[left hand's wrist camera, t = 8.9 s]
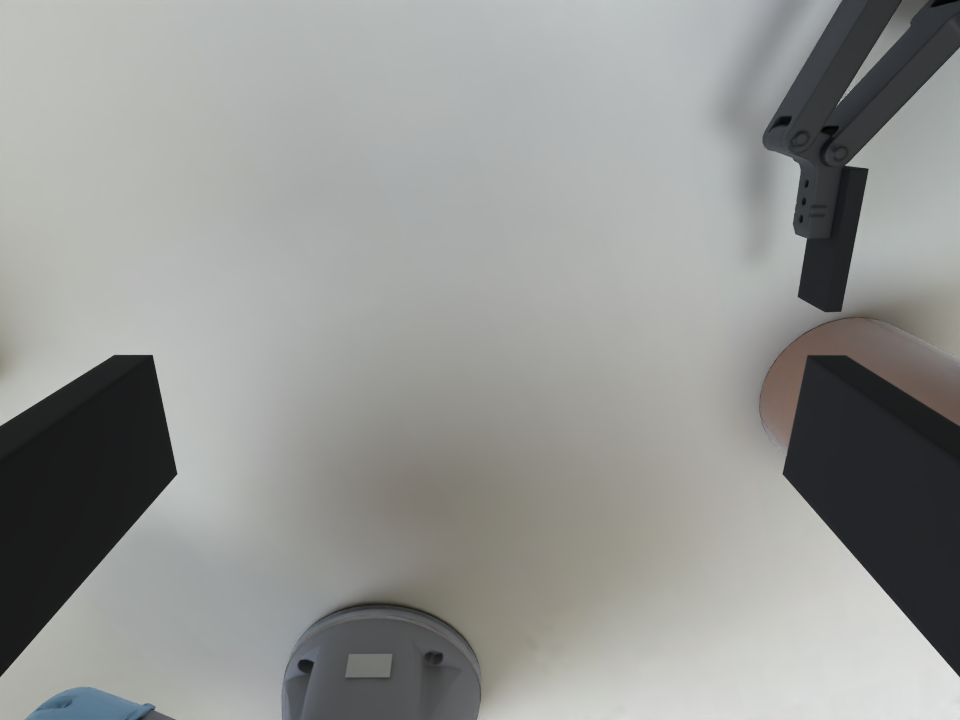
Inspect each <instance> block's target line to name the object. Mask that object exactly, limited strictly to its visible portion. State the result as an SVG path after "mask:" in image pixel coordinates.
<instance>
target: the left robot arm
mask: <svg viewBox="0 0 960 720" xmlns="http://www.w3.org/2000/svg"><path fill="white" fill-rule="evenodd" d="M176 475H177V470H176V465H175V461H174V456H173V451H172V446H171V441H170V436H169V432H168V427H167V422H166V417H165V412H164V408H163V403H162V398H161V393H160V388H159V384H158V379H157V374H156V369H155V364H154V359H153V355H114V356H112V357H111V358H109V359H107V360H106V361H104V362H103V363H101V364H99V365H98V366H96V367H95V368H93V369H91V370H90V371H88V372H86V373H85V374H83V375H82V376H80V377H78V378H77V379H75V380H74V381H72V382H70V383H69V384H67V385H66V386H64V387H62V388H61V389H59V390H58V391H56V392H54V393H53V394H51V395H50V396H48V397H46V398H45V399H43V400H42V401H40V402H38V403H37V404H35V405H34V406H32V407H30V408H29V409H27V410H26V411H24V412H22V413H21V414H19V415H18V416H16V417H14V418H13V419H11V420H10V421H8V422H6V423H5V424H3V425H2V426H0V677H1V676H2V674H3V673H4V672H5V671H6V670H7V669H8V668H9V666H10V665H11V664H12V663H13V662H14V661H15V660H16V658H17V657H18V656H19V655H20V654H21V653H22V652H23V650H24V649H25V648H26V647H27V646H28V645H29V644H30V642H31V641H32V640H33V639H34V638H35V637H36V635H37V634H38V633H39V632H40V631H41V630H42V629H43V627H44V626H45V625H46V624H47V623H48V622H49V621H50V619H51V618H52V617H53V616H54V615H55V614H56V613H57V611H58V610H59V609H60V608H61V607H62V606H63V605H64V603H65V602H66V601H67V600H68V599H69V598H70V597H71V595H72V594H73V593H74V592H75V591H76V590H77V588H78V587H79V586H80V585H81V584H82V583H83V582H84V580H85V579H86V578H87V577H88V576H89V575H90V574H91V572H92V571H93V570H94V569H95V568H96V567H97V566H98V564H99V563H100V562H101V561H102V560H103V559H104V558H105V556H106V555H107V554H108V553H109V552H110V551H111V550H112V548H113V547H114V546H115V545H116V544H117V543H118V541H119V540H120V539H121V538H122V537H123V536H124V535H125V533H126V532H127V531H128V530H129V529H130V528H131V527H132V525H133V524H134V523H135V522H136V521H137V520H138V519H139V517H140V516H141V515H142V514H143V513H144V512H145V511H146V509H147V508H148V507H149V506H150V505H151V504H152V503H153V501H154V500H155V499H156V498H157V497H158V496H159V494H160V493H161V492H162V491H163V490H164V489H165V488H166V486H167V485H168V484H169V483H170V482H171V481H172V480H173V478H174V477H175V476H176ZM783 475H784V476H785V477H786V478H787V480H788V481H789V482H790V483H791V484H792V485H793V486H794V488H795V489H796V490H797V491H798V492H799V493H800V494H801V496H802V497H803V498H804V499H805V500H806V501H807V502H808V504H809V505H810V506H811V507H812V508H813V509H814V511H815V512H816V513H817V514H818V515H819V516H820V517H821V519H822V520H823V521H824V522H825V523H826V524H827V525H828V527H829V528H830V529H831V530H832V531H833V532H834V533H835V535H836V536H837V537H838V538H839V539H840V540H841V541H842V543H843V544H844V545H845V546H846V547H847V548H848V549H849V551H850V552H851V553H852V554H853V555H854V556H855V558H856V559H857V560H858V561H859V562H860V563H861V564H862V566H863V567H864V568H865V569H866V570H867V571H868V572H869V574H870V575H871V576H872V577H873V578H874V579H875V580H876V582H877V583H878V584H879V585H880V586H881V587H882V588H883V590H884V591H885V592H886V593H887V594H888V595H889V596H890V598H891V599H892V600H893V601H894V602H895V603H896V605H897V606H898V607H899V608H900V609H901V610H902V611H903V613H904V614H905V615H906V616H907V617H908V618H909V619H910V621H911V622H912V623H913V624H914V625H915V626H916V627H917V629H918V630H919V631H920V632H921V633H922V634H923V635H924V637H925V638H926V639H927V640H928V641H929V642H930V643H931V645H932V646H933V647H934V648H935V649H936V650H937V652H938V653H939V654H940V655H941V656H942V657H943V658H944V660H945V661H946V662H947V663H948V664H949V665H950V666H951V668H952V669H953V670H954V671H955V672H956V673H957V674H958V676H959V677H960V426H958V425H957V424H955V423H954V422H952V421H950V420H949V419H947V418H946V417H944V416H942V415H941V414H939V413H938V412H936V411H934V410H933V409H931V408H930V407H928V406H926V405H925V404H923V403H922V402H920V401H918V400H917V399H915V398H914V397H912V396H910V395H909V394H907V393H906V392H904V391H902V390H901V389H899V388H898V387H896V386H894V385H893V384H891V383H890V382H888V381H886V380H885V379H883V378H882V377H880V376H878V375H877V374H875V373H874V372H872V371H870V370H869V369H867V368H866V367H864V366H862V365H861V364H859V363H857V362H856V361H854V360H853V359H851V358H849V357H848V356H846V355H807V360H806V364H805V369H804V374H803V379H802V384H801V388H800V393H799V398H798V403H797V408H796V412H795V417H794V422H793V427H792V432H791V437H790V441H789V446H788V451H787V456H786V461H785V465H784V470H783ZM480 700H481V674H480V669H479V665H478V662H477V659H476V657H475V655H474V653H473V651H472V650H471V648H470V646H469V645H468V644H467V643H466V641H465V640H464V639H463V638H462V637H461V636H460V635H459V634H458V633H457V632H456V631H454V630H453V629H452V628H451V627H449V626H448V625H446V624H445V623H443V622H442V621H440V620H438V619H436V618H434V617H432V616H430V615H428V614H425V613H422V612H419V611H416V610H413V609H409V608H404V607H399V606H391V605H367V606H359V607H354V608H349V609H345V610H342V611H339V612H336V613H334V614H331V615H329V616H327V617H325V618H323V619H322V620H320V621H318V622H317V623H316V624H314V625H313V626H312V627H310V628H309V629H308V630H307V631H306V632H305V633H304V634H303V635H302V637H301V638H300V639H299V640H298V642H297V644H296V645H295V647H294V649H293V651H292V654H291V657H290V659H289V662H288V665H287V668H286V671H285V676H284V681H283V687H282V720H477V717H478V712H479V706H480ZM154 710H155V706H154V705H152V704H149V703H146V704H144V705H140V704H137V703H134V702H131V701H128V700H125V699H123V698H120V697H117V696H114V695H111V694H109V693H106V692H103V691H100V690H98V689H94V688H90V687H79V688H73V689H69V690H66V691H64V692H62V693H59V694H57V695H55V696H54V697H52V698H51V699H49V700H48V701H46V702H45V703H43V704H42V705H41V706H40V707H38V708H37V709H36V710H35V711H34V712H33V713H31V714H30V715H29V716H28V717H27V718H26V719H25V720H175V719H173V718H170V717H168V716H166V715H163V714H161V713H159V712H156V711H154Z"/></svg>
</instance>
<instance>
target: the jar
mask: <svg viewBox="0 0 960 720" xmlns="http://www.w3.org/2000/svg"><path fill="white" fill-rule="evenodd" d="M807 355H846V356H848V357H849V358H851V359H853V360H854V361H856V362H857V363H859V364H861V365H862V366H864V367H866V368H867V369H869V370H870V371H872V372H874V373H875V374H877V375H878V376H880V377H882V378H883V379H885V380H886V381H888V382H890V383H891V384H893V385H894V386H896V387H898V388H899V389H901V390H902V391H904V392H906V393H907V394H909V395H910V396H912V397H914V398H915V399H917V400H918V401H920V402H922V403H923V404H925V405H926V406H928V407H930V408H931V409H933V410H934V411H936V412H938V413H939V414H941V415H942V416H944V417H946V418H947V419H949V420H950V421H952V422H954V423H955V424H957V425H958V426H960V358H958V357H956V356H954V355H952V354H950V353H948V352H946V351H944V350H942V349H940V348H938V347H936V346H934V345H932V344H930V343H928V342H926V341H924V340H922V339H920V338H918V337H916V336H914V335H912V334H909V333H907V332H905V331H903V330H901V329H899V328H897V327H895V326H893V325H891V324H889V323H887V322H884V321H880V320H876V319H870V318H848V319H841V320H837V321H833V322H830V323H827V324H824V325H821V326H819V327H817V328H815V329H812V330H811V331H809V332H807V333H806V334H804V335H802V336H801V337H799V338H798V339H797V340H795V341H794V342H793V343H792V344H791V345H789V346H788V347H787V348H786V349H785V350H784V351H783V352H782V354H781V355H780V356H779V357H778V358H777V359H776V361H775V362H774V364H773V365H772V367H771V368H770V370H769V372H768V374H767V376H766V379H765V381H764V384H763V387H762V391H761V396H760V415H761V420H762V424H763V426H764V429H765V431H766V433H767V435H768V436H769V438H770V439H771V440H772V442H773V443H774V444H775V445H776V446H777V447H778V448H779V449H780V451H781V452H782V453H783V454H784V455H785V456H787V451H788V446H789V441H790V437H791V432H792V427H793V422H794V417H795V412H796V408H797V403H798V398H799V393H800V388H801V384H802V379H803V374H804V369H805V364H806V360H807Z"/></svg>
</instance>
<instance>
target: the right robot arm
mask: <svg viewBox="0 0 960 720" xmlns="http://www.w3.org/2000/svg"><path fill="white" fill-rule="evenodd" d="M901 1H902V0H842V2H841V3H840V5H839V7H838V8H837V10H836V12H835V14H834V15H833V17H832V19H831V20H830V22H829V24H828V25H827V27H826V29H825V31H824V32H823V34H822V36H821V37H820V39H819V41H818V42H817V44H816V46H815V47H814V49H813V51H812V53H811V54H810V56H809V58H808V59H807V61H806V63H805V64H804V66H803V68H802V69H801V71H800V73H799V75H798V76H797V78H796V80H795V81H794V83H793V85H792V86H791V88H790V90H789V92H788V93H787V95H786V97H785V98H784V100H783V102H782V103H781V105H780V107H779V108H778V110H777V112H776V114H775V115H774V117H773V119H772V120H771V122H770V124H769V125H768V127H767V129H766V130H765V132H764V135H763V144H764V147H765V148H766V149H768V150H770V151H776V152H778V153H781V154H784V155H786V156H789V157H792V158H793V160H794V161H796V162H797V163H799V165H800V168H801V175H800V182H799V188H798V195H797V201H796V202H797V204H796V208H795V214H794V221H793V226H794V230H795V234H797V235H799V236H802V237H805V238H807V243H806V249H805V255H804V262H803V268H802V274H801V280H800V286H799V292H798V297H799V298H801V299H802V300H804V301H806V302H808V303H810V304H811V305H813V306H815V307H817V308H819V309H820V310H822V311H824V312H841V310H842V304H843V299H844V294H845V289H846V284H847V278H848V273H849V268H850V263H851V258H852V253H853V247H854V242H855V237H856V232H857V227H858V221H859V216H860V211H861V206H862V201H863V195H864V190H865V185H866V180H867V175H868V169H866V168H858V167H850V166H845V165H846V164H847V163H848V162H849V161H850V160H851V159H852V158H853V157H854V156H855V155H856V154H857V153H858V152H859V151H860V150H861V149H862V148H863V147H864V146H865V145H866V144H867V143H868V142H869V141H870V139H871V138H872V137H873V136H874V135H875V134H876V133H877V132H878V131H879V130H880V129H881V128H882V127H883V126H884V125H885V124H886V123H887V122H888V121H889V120H890V119H891V118H892V117H893V116H894V115H895V114H896V113H897V112H898V111H899V109H900V108H901V107H902V106H903V105H904V104H905V103H906V102H907V101H908V100H909V99H910V98H911V97H912V96H913V95H914V94H915V93H916V92H917V91H918V90H919V89H920V88H921V87H922V86H923V85H924V84H925V83H926V82H927V81H928V80H929V78H930V77H931V76H932V75H933V74H934V73H935V72H936V71H937V70H938V69H939V68H940V67H941V66H942V65H943V64H944V63H945V62H946V61H947V60H948V59H949V58H950V57H951V56H952V55H953V54H954V53H955V52H956V51H957V50H958V48H959V47H960V0H929V1H928V2H927V3H926V5H925V6H924V7H923V8H922V9H921V10H920V11H919V12H918V13H917V14H916V15H915V16H914V18H913V19H912V20H911V22H910V23H911V26H910V28H909V29H908V30H907V31H906V32H905V33H904V35H903V36H902V37H901V38H900V39H899V40H898V41H897V42H896V43H895V44H894V45H893V46H892V47H891V49H890V50H889V51H888V52H887V53H886V54H885V55H884V56H883V57H882V58H881V59H880V60H879V61H878V62H877V64H876V65H875V66H874V67H873V68H872V69H871V70H870V71H869V72H868V73H867V74H866V75H865V76H864V78H863V79H862V80H861V81H860V82H859V83H858V84H857V85H856V86H855V87H854V88H853V89H852V90H851V92H850V93H849V94H848V95H847V96H846V97H845V98H844V99H843V100H842V101H841V102H840V103H839V104H838V102H839V101H840V99H841V98H842V96H843V94H844V93H845V91H846V90H847V88H848V86H849V85H850V83H851V82H852V80H853V78H854V77H855V75H856V74H857V72H858V70H859V69H860V67H861V65H862V64H863V62H864V61H865V59H866V57H867V56H868V54H869V53H870V51H871V49H872V48H873V46H874V45H875V43H876V41H877V40H878V38H879V37H880V35H881V33H882V32H883V30H884V28H885V27H886V25H887V24H888V22H889V20H890V19H891V17H892V16H893V14H894V12H895V11H896V9H897V8H898V6H899V4H900V3H901ZM837 104H838V106H837ZM836 106H837V107H836ZM835 107H836V108H835Z"/></svg>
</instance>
